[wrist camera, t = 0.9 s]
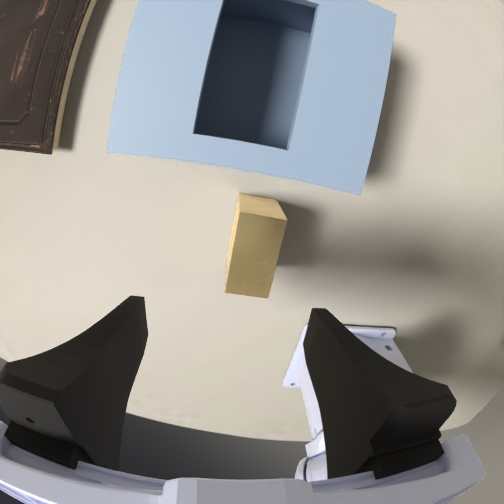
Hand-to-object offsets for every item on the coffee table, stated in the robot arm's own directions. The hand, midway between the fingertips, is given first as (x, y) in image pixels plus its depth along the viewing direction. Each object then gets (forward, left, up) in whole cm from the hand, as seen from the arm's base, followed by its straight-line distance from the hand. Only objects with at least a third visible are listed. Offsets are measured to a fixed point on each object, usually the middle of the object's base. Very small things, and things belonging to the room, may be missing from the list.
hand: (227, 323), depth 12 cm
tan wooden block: (-1, -1, -10) cm, 10 cm away
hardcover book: (+21, -17, -10) cm, 29 cm away
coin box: (+1, -11, -9) cm, 14 cm away
